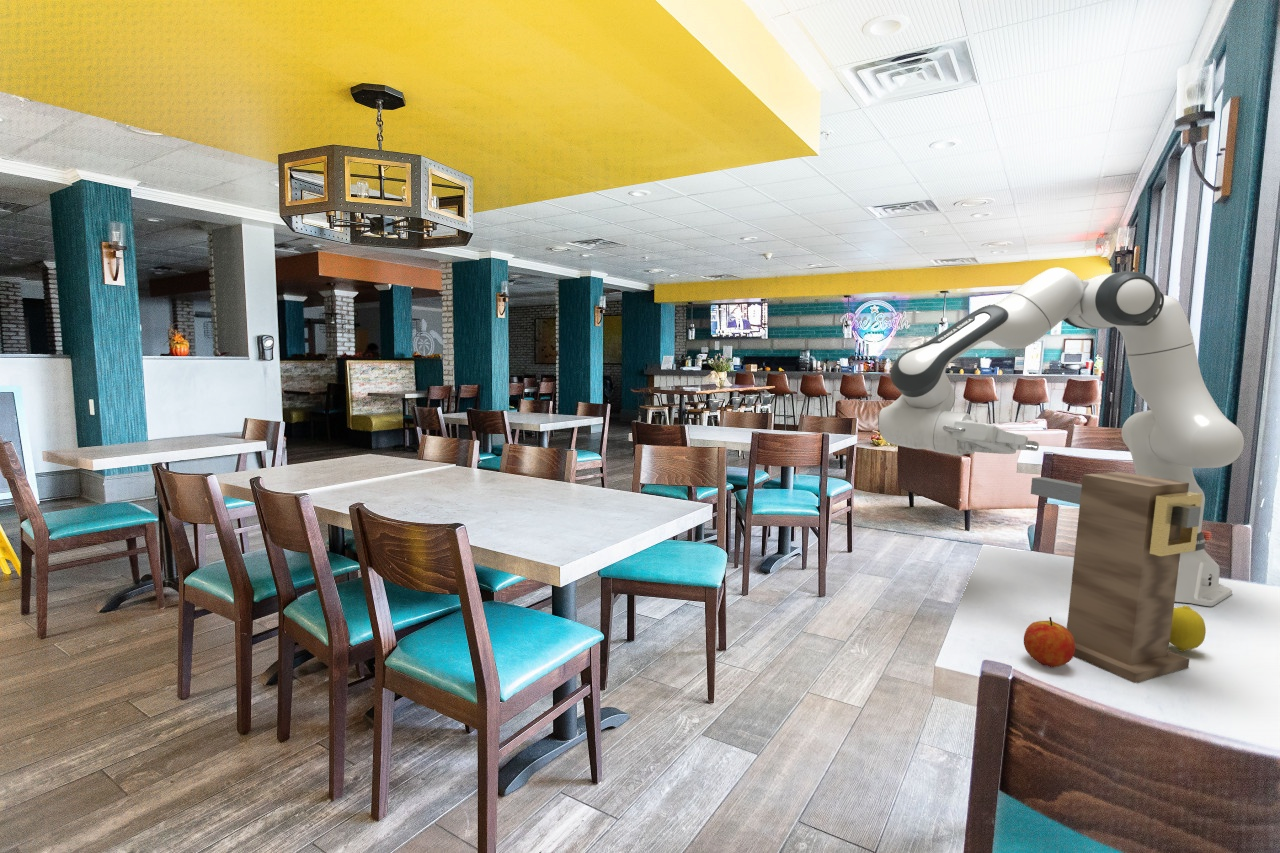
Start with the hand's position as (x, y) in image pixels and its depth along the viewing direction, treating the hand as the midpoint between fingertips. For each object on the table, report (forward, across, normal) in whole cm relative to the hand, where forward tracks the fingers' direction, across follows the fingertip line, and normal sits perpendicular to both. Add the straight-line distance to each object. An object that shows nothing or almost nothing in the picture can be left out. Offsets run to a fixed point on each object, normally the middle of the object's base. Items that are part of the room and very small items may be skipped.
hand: (1032, 443), depth 122 cm
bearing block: (+18, -4, +34) cm, 39 cm away
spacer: (+24, -10, +15) cm, 30 cm away
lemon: (+26, +7, +32) cm, 41 cm away
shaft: (+14, -7, +10) cm, 19 cm away
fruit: (+11, -16, +37) cm, 41 cm away
